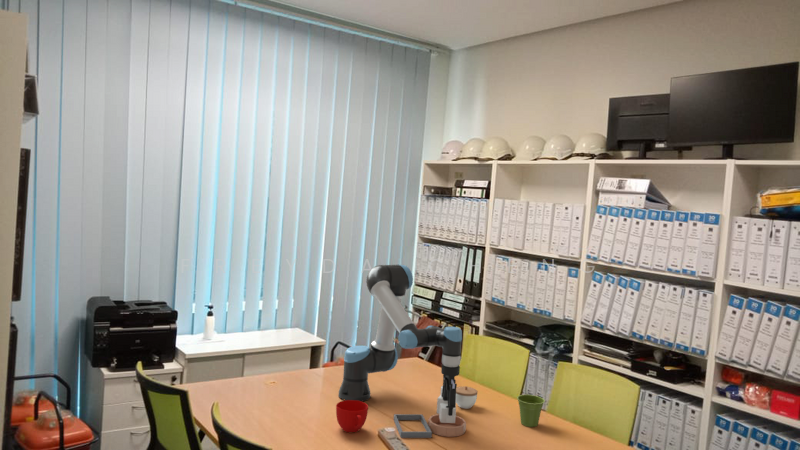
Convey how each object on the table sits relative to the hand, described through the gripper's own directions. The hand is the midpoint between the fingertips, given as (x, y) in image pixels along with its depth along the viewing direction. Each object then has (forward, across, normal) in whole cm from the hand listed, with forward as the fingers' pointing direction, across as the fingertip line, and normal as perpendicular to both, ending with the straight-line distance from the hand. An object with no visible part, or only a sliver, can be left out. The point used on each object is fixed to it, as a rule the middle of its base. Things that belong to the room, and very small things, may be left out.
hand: (447, 419), depth 243 cm
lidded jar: (+5, +28, -16) cm, 32 cm away
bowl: (+4, 0, 0) cm, 4 cm away
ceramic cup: (+5, -2, +40) cm, 40 cm away
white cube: (+1, 0, 0) cm, 1 cm away
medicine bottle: (+5, +20, -4) cm, 21 cm away
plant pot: (+5, +6, -38) cm, 39 cm away
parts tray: (+4, +1, +14) cm, 15 cm away
